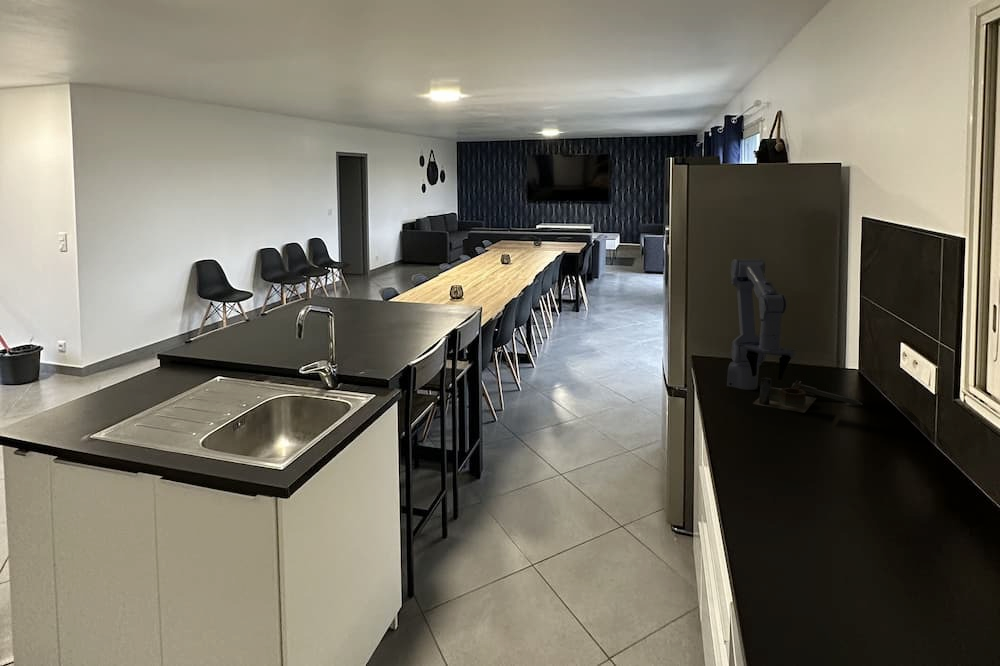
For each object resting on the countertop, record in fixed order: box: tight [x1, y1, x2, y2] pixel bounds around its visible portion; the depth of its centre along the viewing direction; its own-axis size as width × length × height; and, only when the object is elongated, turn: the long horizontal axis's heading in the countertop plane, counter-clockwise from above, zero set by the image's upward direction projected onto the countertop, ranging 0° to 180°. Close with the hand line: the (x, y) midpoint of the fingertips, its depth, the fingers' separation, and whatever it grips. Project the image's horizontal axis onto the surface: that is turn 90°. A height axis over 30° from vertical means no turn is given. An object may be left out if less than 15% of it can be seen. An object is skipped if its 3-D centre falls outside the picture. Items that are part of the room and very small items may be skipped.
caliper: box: [791, 380, 863, 406], centre depth 203 cm, size 20×1×6 cm, turn 69°
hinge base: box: [752, 383, 817, 413], centre depth 203 cm, size 15×17×5 cm
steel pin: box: [759, 377, 772, 406], centre depth 200 cm, size 3×3×8 cm
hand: (767, 377), depth 199 cm, fingers open, 7 cm apart
